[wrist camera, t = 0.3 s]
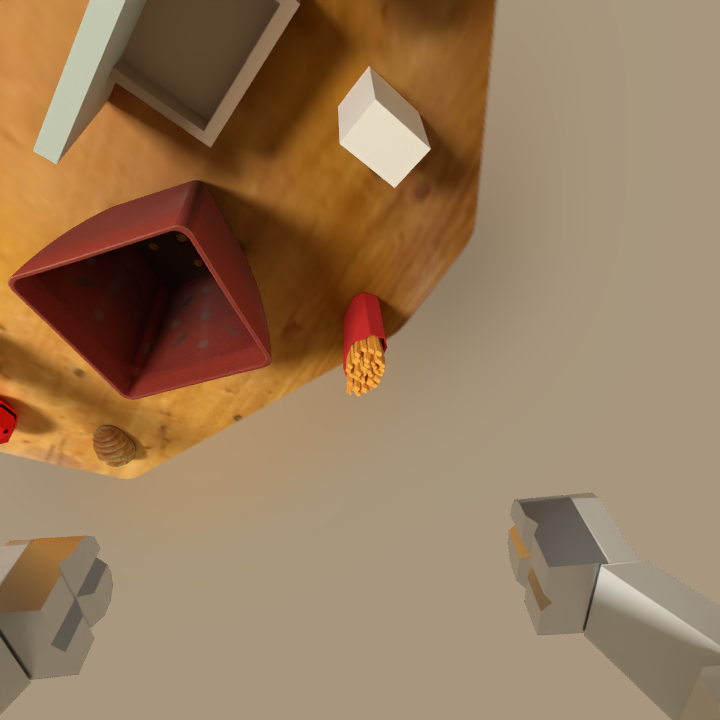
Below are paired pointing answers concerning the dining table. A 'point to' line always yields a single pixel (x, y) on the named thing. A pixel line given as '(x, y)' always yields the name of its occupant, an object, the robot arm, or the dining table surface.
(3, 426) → the ball
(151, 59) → the grey open box
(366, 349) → the french fries
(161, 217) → the plant pot
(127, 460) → the pastry
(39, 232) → the dining table surface
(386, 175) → the cabinet
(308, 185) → the dining table surface
